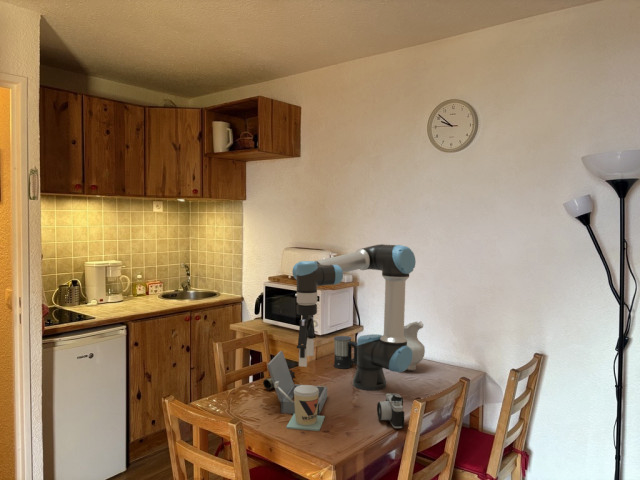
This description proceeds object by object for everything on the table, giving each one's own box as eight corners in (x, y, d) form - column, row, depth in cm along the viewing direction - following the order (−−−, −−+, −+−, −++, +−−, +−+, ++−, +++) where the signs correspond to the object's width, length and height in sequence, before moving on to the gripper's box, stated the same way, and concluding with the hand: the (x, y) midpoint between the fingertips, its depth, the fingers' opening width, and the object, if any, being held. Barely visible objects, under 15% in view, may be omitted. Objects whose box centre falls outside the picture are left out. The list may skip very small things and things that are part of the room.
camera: (373, 412, 185) (374, 387, 184) (396, 411, 185) (396, 386, 185) (382, 429, 169) (383, 402, 169) (407, 428, 170) (407, 401, 170)
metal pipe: (271, 390, 205) (271, 377, 205) (259, 387, 210) (259, 374, 209) (297, 381, 220) (297, 368, 220) (286, 378, 224) (286, 366, 224)
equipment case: (327, 397, 200) (327, 353, 200) (318, 416, 180) (319, 367, 179) (279, 393, 204) (280, 350, 203) (266, 412, 184) (266, 364, 183)
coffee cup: (299, 428, 168) (300, 395, 168) (289, 418, 176) (289, 386, 176) (323, 423, 172) (323, 390, 172) (311, 414, 181) (312, 383, 180)
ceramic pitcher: (377, 370, 238) (377, 320, 237) (387, 359, 256) (387, 314, 255) (420, 375, 230) (421, 324, 229) (427, 364, 248) (428, 317, 247)
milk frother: (331, 368, 241) (331, 339, 240) (338, 359, 256) (338, 332, 256) (359, 370, 237) (359, 341, 237) (364, 361, 252) (364, 334, 252)
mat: (324, 417, 179) (324, 415, 179) (319, 431, 167) (319, 429, 167) (293, 415, 181) (293, 413, 181) (286, 428, 169) (286, 426, 169)
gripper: (303, 297, 186) (303, 351, 187) (288, 309, 162) (288, 370, 163) (322, 298, 185) (322, 352, 186) (310, 309, 161) (310, 371, 161)
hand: (306, 360), depth 174 cm, fingers open, 13 cm apart
